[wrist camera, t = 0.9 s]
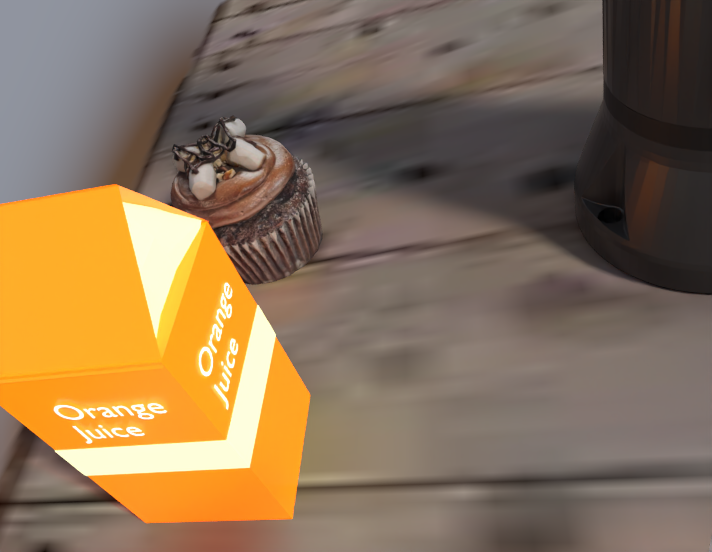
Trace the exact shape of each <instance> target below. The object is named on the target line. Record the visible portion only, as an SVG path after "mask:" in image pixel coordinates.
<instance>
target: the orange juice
mask: <svg viewBox="0 0 712 552" xmlns="http://www.w3.org/2000/svg"><path fill="white" fill-rule="evenodd" d="M208 222H209V221H206V220H204V219H201V218H199V217H196V216H194V215H191V214H189V213H186V212H184V211H181V210H179V209H176V208H174V207H171V206H169V205H166V204H164V203H161V202H159V201H156V200H154V199H151V198H149V197H146V196H144V195H141V194H139V193H136V192H134V191H131V190H129V189H126V188H123V187H121V186H119V185H116V184H113V185H108V186H102V187H96V188H91V189H85V190H79V191H73V192H68V193H62V194H56V195H50V196H45V197H39V198H33V199H27V200H22V201H16V202H10V203H4V204H0V406H1V407H3V408H4V409H5V410H6V411H7V412H9V413H10V414H11V415H12V416H14V417H15V418H16V419H17V420H19V421H20V422H21V423H22V424H24V425H25V426H26V427H27V428H28V429H30V430H31V431H32V432H33V433H35V434H36V435H37V436H38V437H40V438H41V439H42V440H43V441H45V442H46V443H47V444H48V445H50V446H51V447H52V448H53V449H55V452H56V453H57V454H59V455H60V456H61V457H62V458H64V459H65V460H66V461H67V462H69V463H70V464H71V465H72V466H74V467H75V468H76V469H77V470H79V471H80V472H81V473H82V474H84V475H85V476H88V477H89V478H91V479H92V480H93V481H94V482H96V483H97V484H98V485H99V486H100V487H102V488H103V489H104V490H105V491H107V492H108V493H109V494H110V495H112V496H113V497H114V498H115V499H117V500H118V501H119V502H120V503H122V504H123V505H124V506H125V507H127V508H128V509H129V510H130V511H132V512H133V513H134V514H135V515H136V516H138V517H139V518H140V519H141V520H143V521H144V522H145V523H162V522H198V521H234V520H270V519H292V517H293V510H294V503H295V497H296V490H297V483H298V476H299V469H300V462H301V455H302V449H303V442H304V435H305V428H306V421H307V414H308V407H309V401H310V394H309V392H308V390H307V389H306V387H305V385H304V384H303V382H302V380H301V378H300V377H299V375H298V373H297V372H296V370H295V368H294V367H293V365H292V363H291V362H290V360H289V358H288V357H287V355H286V353H285V351H284V350H283V348H282V346H281V345H280V343H279V341H278V340H277V338H276V334H275V333H274V331H273V329H272V327H271V326H270V324H269V322H268V321H267V319H266V317H265V316H264V314H263V312H262V311H261V309H260V307H259V305H257V304H256V303H255V301H254V299H253V297H252V296H251V294H250V292H249V291H248V289H247V287H246V286H245V284H244V282H243V281H242V279H241V277H240V276H239V274H238V272H237V270H236V269H235V267H234V265H233V264H232V262H231V260H230V259H229V257H228V255H227V254H226V252H225V250H224V249H223V247H222V245H221V243H220V242H219V240H218V238H217V237H216V235H215V233H214V232H213V230H212V228H211V227H210V225H209V223H208Z"/></svg>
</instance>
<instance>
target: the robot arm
mask: <svg viewBox="0 0 712 552" xmlns="http://www.w3.org/2000/svg"><path fill="white" fill-rule="evenodd" d="M603 75H604V92H603V102H602V104H601V107H600V109H599V112H598V114H597V117H596V119H595V122H594V124H593V127H592V129H591V132H590V135H589V137H588V140H587V142H586V145H585V147H584V150H583V152H582V155H581V157H580V160H579V163H578V165H577V169H576V174H575V181H574V191H575V211H576V217H577V221H578V224H579V227H580V229H581V231H582V233H583V235H584V237H585V238H586V240H587V241H588V242H589V244H590V245H591V246H592V247H593V248H594V250H595V251H596V252H597V253H598V254H600V255H601V256H602V257H603V258H604V259H605V260H607V261H608V262H610V263H611V264H612V265H614V266H615V267H617V268H619V269H620V270H622V271H624V272H626V273H628V274H630V275H632V276H634V277H636V278H639V279H641V280H644V281H646V282H649V283H652V284H656V285H659V286H663V287H667V288H671V289H676V290H682V291H688V292H697V293H712V0H603ZM709 552H712V538H711V543H710V548H709Z"/></svg>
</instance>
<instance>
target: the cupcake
mask: <svg viewBox="0 0 712 552" xmlns="http://www.w3.org/2000/svg"><path fill="white" fill-rule="evenodd" d="M245 132H246V127H245V124H244V123H243V122H242V121H241V120H240V119H236V117H235V116H234V115H233V116H231V117H228V118H224V117H221V118H220V121H219V122H218V123H217V124H216V125H215V126H214V128H213V131H212V133H211V136H209V135H207V134H205V135H203V136H201V137H200V138H199V139H198V140H197V143H193V144H186V145H182V146H181V145H177V144H174V145H173V149H172V152H173V153H174V154H173V158H172V159H173V162H174V165H175V167H176V169H178V170H179V171H178V173H177V175H176V177H175V179H174V181H173V183H172V189H171V200H172V205H173V207H174V208H176V209H179V210H181V211H184V212H186V213H189V214H191V215H194V216H196V217H199V218H201V219H204V220H206V221H209V222H208V223H209V225H210V227H211V228H212V230H213V232H214V233H215V235H216V237H217V238H218V240H219V242H220V243H221V245H222V247H223V249H224V250H225V252H226V254H227V255H228V257H229V259H230V260H231V262H232V264H233V265H234V267H235V269H236V270H237V272H238V274H239V276H240V277H241V279H242V281H243V282H244V283H248V284H261V283H270V282H274V281H277V280H280V279H282V278H284V277H287V276H290V275H291V274H293V273H294V272H295V271H296V270H298V269H300V268H302V267H303V266H304V265H306V264H307V263H308V262H309V261H310V260H311V258H312V257H313V255H314V254H315V253H316V252H317V250H318V248H319V245H320V242H321V240H322V232H323V231H322V226H321V222H320V216H319V212H318V205H317V197H316V190H315V183H314V179H313V173H311V168H309V167H308V166H307V163H304V164H303V160H302V159H300V160H298V158H297V156H293V155H292V154H290V153H289V152H288V150H287V149H286V148H285V147H284V146H283V145H282V144H281V143H280V142H278V141H276V140H273V139H271V138H269V137H264V136H260V135H245ZM204 140H205V141H204Z"/></svg>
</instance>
